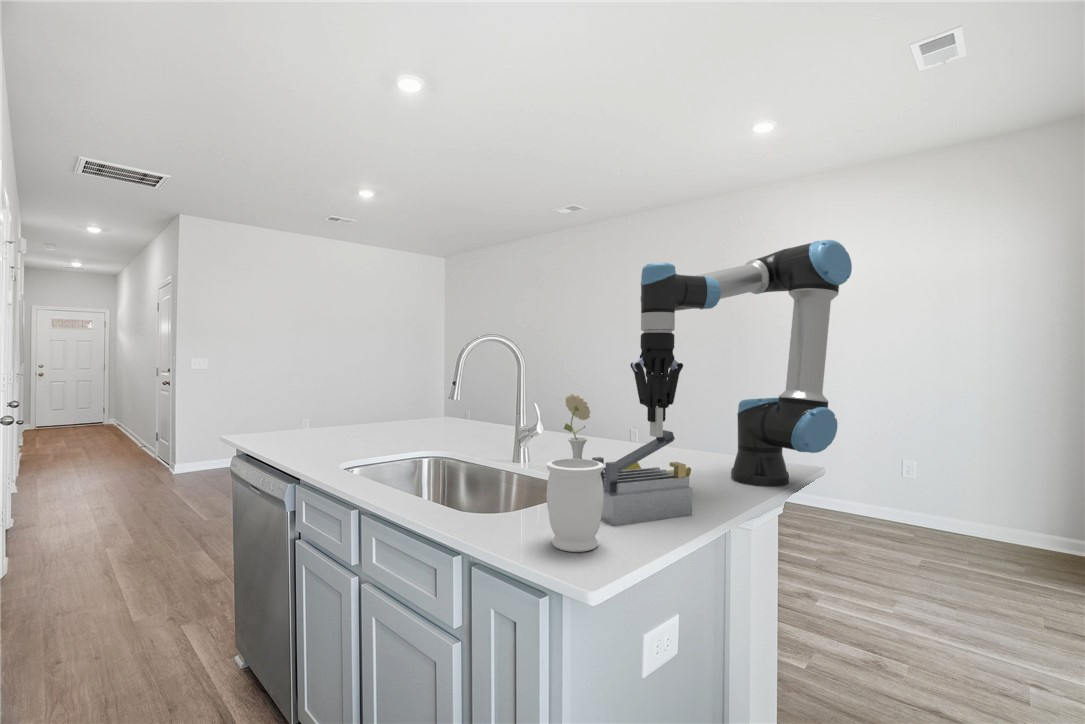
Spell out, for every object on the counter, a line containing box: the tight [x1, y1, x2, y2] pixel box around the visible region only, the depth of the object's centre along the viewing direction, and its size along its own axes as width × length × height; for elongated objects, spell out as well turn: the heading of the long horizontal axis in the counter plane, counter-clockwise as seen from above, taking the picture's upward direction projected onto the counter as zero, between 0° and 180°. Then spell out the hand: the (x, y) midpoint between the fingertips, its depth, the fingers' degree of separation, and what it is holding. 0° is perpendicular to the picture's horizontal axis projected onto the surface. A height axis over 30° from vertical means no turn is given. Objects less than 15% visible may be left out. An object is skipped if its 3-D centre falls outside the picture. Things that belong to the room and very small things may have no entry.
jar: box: [546, 458, 605, 553], centre depth 98 cm, size 11×10×15 cm
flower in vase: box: [563, 393, 591, 459], centre depth 136 cm, size 13×11×25 cm
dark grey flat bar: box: [604, 429, 676, 473], centre depth 120 cm, size 18×4×2 cm, turn 113°
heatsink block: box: [591, 456, 694, 527], centre depth 119 cm, size 20×14×12 cm
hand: (656, 436), depth 121 cm, fingers closed
